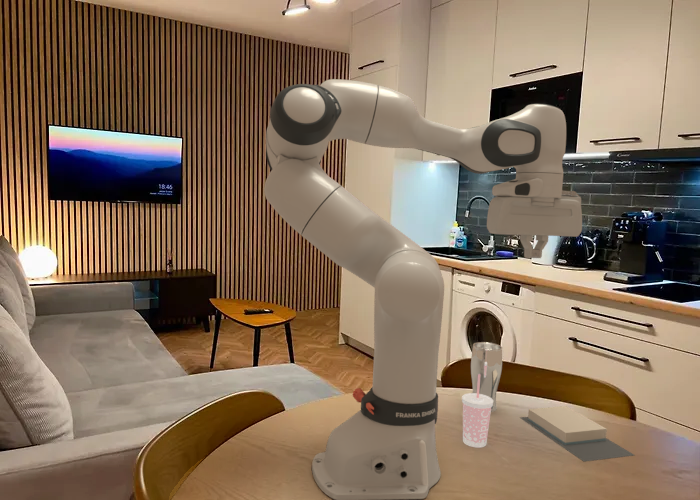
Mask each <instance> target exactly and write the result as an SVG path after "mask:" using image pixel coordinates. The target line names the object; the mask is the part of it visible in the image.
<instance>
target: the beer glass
mask: <svg viewBox="0 0 700 500" xmlns="http://www.w3.org/2000/svg"><path fill="white" fill-rule="evenodd" d="M471 350H472V351H471V358H470V360H471V361H470V375H471V383H472V393H477V382H478V374H481V375H480V389H479V394H483V395H486V396H489V397H490V398H492V399H493V406H492V407H491V413H494V412H496V411H497V410H498V406H497V391H498V387H499V383H500V379H501V377H502V376H501V375H502V370H503V347H502V346H501V345H499V344H497V343H494V342H489V341H488V342H487V341H481V342H480V341H479V342H474V343H473V344H472V349H471Z"/></svg>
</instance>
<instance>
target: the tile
mask: <svg viewBox="0 0 700 500" xmlns="http://www.w3.org/2000/svg"><path fill="white" fill-rule="evenodd" d="M527 414H528V415H527V417H528V421H530V422H531V423H533V424H534V425H536V426H537V427H539V428H540V429H542V430H543V431H545V432H546V433H548V434H549V435H551V436H552V437H554V438H555V439H557V440H558V441H560V442H561V443H562V444H564V445H570V444H579V443H588V442H597V441H606V438H607V430H608V428H606V427H604V426H602V425H600V424H599V423H598V422H595V421H594V420H592V419H590V418H589V417H587V416H586V415H584V414H582V413H580V412H578V411H576V410H575V409H573V408H571V407H569V406H568V405H564V406H563V405H562V406H552V407H539V408H537V407H536V408H528V413H527Z"/></svg>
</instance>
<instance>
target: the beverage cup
mask: <svg viewBox="0 0 700 500" xmlns="http://www.w3.org/2000/svg"><path fill="white" fill-rule="evenodd" d="M480 375H481V374H478V382H477V393H473V392H469V393H464V394H463V395H462V396H461V403H462V442H463V443H464V444H465V445H467V446H469V447H470V448H471V447H473V448H484V447H485V446H487V442H488V436H489V433H488V432H489V429H490V428H489V427H490V419H491V414H492V412H491V407H492V406H493V399H492V398H490V397H489V396H486V395H483V394H479V389H480Z"/></svg>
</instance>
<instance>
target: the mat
mask: <svg viewBox="0 0 700 500" xmlns="http://www.w3.org/2000/svg"><path fill="white" fill-rule="evenodd" d="M519 418H520V419H521V420H523V422H525V423H527V424H528V425H530V426H531V427H533V428H534V429H535V430H537V431H538V432H539V433H542V434H543V435H544V436H546V437H547V438H548V439H550V440H551V441H553V442H554V443H556V444H557V445H559V446H560V447H561V448H562V449H565V450H566V451H568V452H569V453H570V454H572V455H574V456H575V457H576V458H578V459H579V460H581V461H582V462H583V463H584V462H592V461H601V460H609V459H617V458H624V457H633V456H635V454H634V453H632V452H631V451H629V450H627V449H625V448H624V447H622V446H621V445H618V444H617V443H615V441H612V440H610V439H609V438H607V437H606V441H597V442H588V443H579V444H570V445H564V444H562V443H561V442H560V441H558V440H557V439H555V438H554V437H552V436H551V435H549V434H548V433H546V432H545V431H543V430H542V429H540V428H539V427H537V426H536V425H534V424H533V423H531V422H530V421H528V416H521V417H519Z"/></svg>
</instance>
